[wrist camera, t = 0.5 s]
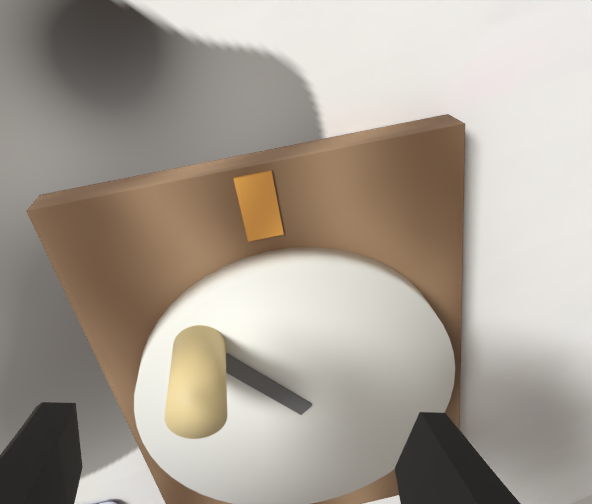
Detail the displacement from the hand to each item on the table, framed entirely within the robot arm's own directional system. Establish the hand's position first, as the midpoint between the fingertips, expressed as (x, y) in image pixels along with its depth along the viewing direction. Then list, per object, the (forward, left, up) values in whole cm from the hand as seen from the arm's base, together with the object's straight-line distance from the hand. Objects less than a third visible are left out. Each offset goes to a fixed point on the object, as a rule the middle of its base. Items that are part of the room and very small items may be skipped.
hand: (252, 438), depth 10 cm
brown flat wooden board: (+1, -8, -11) cm, 14 cm away
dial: (+1, -8, -10) cm, 12 cm away
